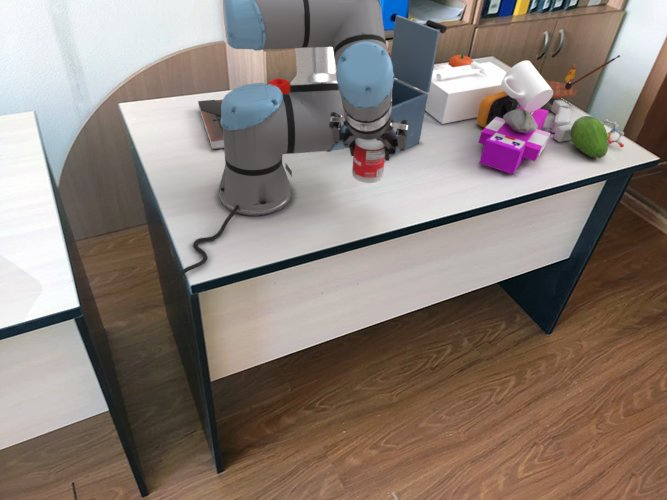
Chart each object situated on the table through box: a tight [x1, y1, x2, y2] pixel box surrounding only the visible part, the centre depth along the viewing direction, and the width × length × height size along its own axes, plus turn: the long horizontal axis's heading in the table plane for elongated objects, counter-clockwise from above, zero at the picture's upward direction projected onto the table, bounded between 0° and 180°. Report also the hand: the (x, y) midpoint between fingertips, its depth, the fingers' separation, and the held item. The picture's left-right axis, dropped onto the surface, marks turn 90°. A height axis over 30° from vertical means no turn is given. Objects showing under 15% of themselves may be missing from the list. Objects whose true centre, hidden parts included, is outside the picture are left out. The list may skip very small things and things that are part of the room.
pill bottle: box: [351, 138, 386, 184], centre depth 103 cm, size 6×6×11 cm
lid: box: [390, 14, 447, 93], centre depth 128 cm, size 14×13×9 cm
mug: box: [501, 60, 553, 114], centre depth 137 cm, size 12×8×10 cm
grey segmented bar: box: [550, 98, 574, 143], centre depth 147 cm, size 20×4×7 cm
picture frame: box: [197, 99, 224, 150], centre depth 137 cm, size 16×2×22 cm
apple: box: [266, 78, 291, 94], centre depth 145 cm, size 8×8×7 cm
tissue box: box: [419, 61, 508, 125], centre depth 150 cm, size 14×25×11 cm, turn 116°
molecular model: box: [602, 118, 625, 148], centre depth 141 cm, size 7×8×7 cm
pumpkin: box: [447, 53, 474, 67], centre depth 168 cm, size 8×8×7 cm
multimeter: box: [476, 91, 520, 129], centre depth 146 cm, size 9×18×3 cm
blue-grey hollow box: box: [389, 78, 428, 158], centre depth 131 cm, size 14×13×13 cm
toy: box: [478, 106, 552, 175], centre depth 136 cm, size 14×6×30 cm
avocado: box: [571, 115, 609, 159], centre depth 136 cm, size 8×8×12 cm
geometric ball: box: [433, 63, 452, 70], centre depth 159 cm, size 8×8×8 cm
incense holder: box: [544, 54, 621, 99], centre depth 156 cm, size 21×30×11 cm
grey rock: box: [503, 109, 538, 133], centre depth 130 cm, size 12×8×5 cm
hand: (370, 151), depth 107 cm, fingers closed on pill bottle, 6 cm apart
